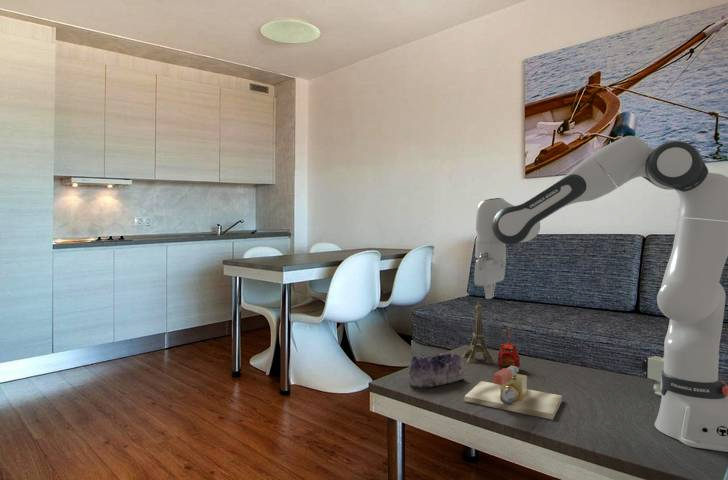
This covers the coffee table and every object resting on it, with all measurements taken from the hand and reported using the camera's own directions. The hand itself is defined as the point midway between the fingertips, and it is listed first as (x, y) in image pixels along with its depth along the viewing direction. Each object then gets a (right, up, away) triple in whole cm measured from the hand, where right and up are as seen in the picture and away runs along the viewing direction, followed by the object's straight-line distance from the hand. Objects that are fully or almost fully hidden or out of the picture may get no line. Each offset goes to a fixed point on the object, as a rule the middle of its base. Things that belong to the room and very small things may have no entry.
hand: (489, 298), depth 140 cm
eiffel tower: (+6, -29, +38) cm, 48 cm away
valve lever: (+2, -22, -10) cm, 24 cm away
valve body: (+6, -29, -5) cm, 30 cm away
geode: (-15, -29, +11) cm, 35 cm away
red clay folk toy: (+14, -29, +26) cm, 41 cm away
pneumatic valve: (+54, -30, +1) cm, 61 cm away
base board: (+6, -29, -5) cm, 30 cm away
